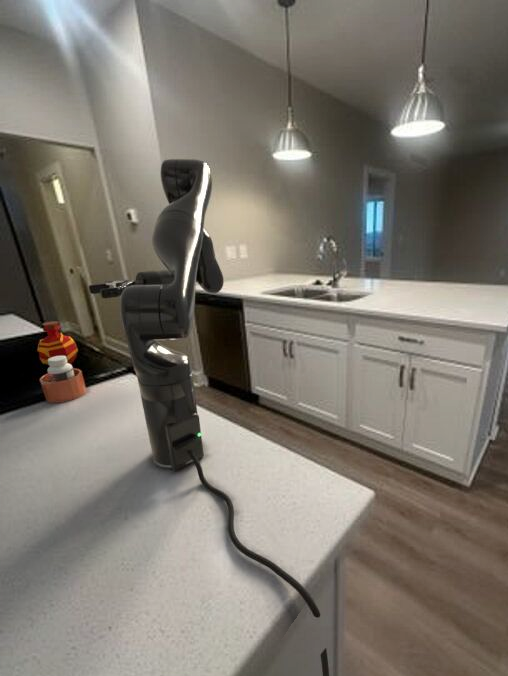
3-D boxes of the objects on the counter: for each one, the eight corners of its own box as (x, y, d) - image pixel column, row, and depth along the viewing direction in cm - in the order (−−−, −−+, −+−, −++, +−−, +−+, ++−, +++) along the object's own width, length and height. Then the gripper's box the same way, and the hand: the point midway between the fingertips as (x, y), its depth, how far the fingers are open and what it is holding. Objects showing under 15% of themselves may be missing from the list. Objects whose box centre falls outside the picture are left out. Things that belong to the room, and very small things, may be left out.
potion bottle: (89, 367, 108) (77, 321, 102) (53, 379, 100) (38, 330, 94) (72, 361, 113) (60, 316, 107) (36, 371, 105) (21, 324, 99)
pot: (91, 393, 92) (86, 375, 90) (50, 406, 86) (44, 386, 83) (80, 383, 98) (75, 365, 96) (41, 394, 91) (35, 375, 89)
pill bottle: (50, 397, 89) (39, 362, 85) (61, 387, 94) (51, 354, 90) (72, 396, 89) (62, 361, 86) (82, 387, 94) (73, 354, 91)
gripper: (144, 268, 100) (82, 273, 89) (167, 272, 91) (102, 279, 80) (148, 294, 103) (89, 302, 92) (171, 300, 94) (108, 311, 83)
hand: (95, 291), depth 86 cm, fingers open, 8 cm apart
